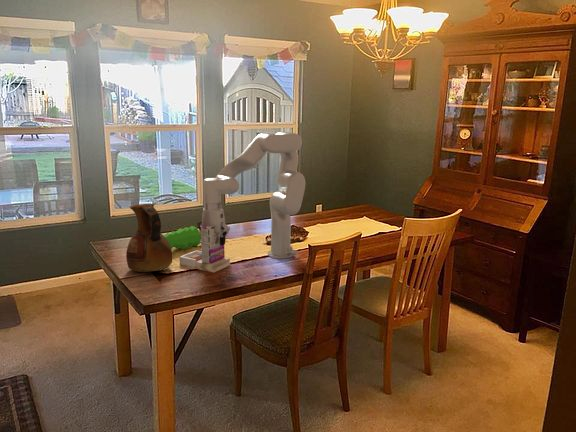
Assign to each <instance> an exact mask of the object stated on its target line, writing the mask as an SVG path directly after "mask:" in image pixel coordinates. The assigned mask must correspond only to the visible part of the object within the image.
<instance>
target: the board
mask: <svg viewBox="0 0 576 432" xmlns="http://www.w3.org/2000/svg"><path fill="white" fill-rule="evenodd" d="M229 266H231V258H229V257H225V258H223V259H220V260H218V261H216V262H214V263H211V264H208V263H203V262H202V260H199V261H197V262H196V268H195V269H196V270H201V271H205V272H208V273H209V272H210V273H216V272H219V271H221V270H223V269H224V268H227V267H229Z"/></svg>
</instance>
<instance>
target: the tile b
mask: <svg viewBox="0 0 576 432" xmlns="http://www.w3.org/2000/svg"><path fill="white" fill-rule="evenodd" d="M190 258H191V259H196V262H197V261H199V260H200V255H194V256H191V257H190Z"/></svg>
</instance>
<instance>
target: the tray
mask: <svg viewBox="0 0 576 432" xmlns="http://www.w3.org/2000/svg"><path fill="white" fill-rule="evenodd" d="M201 252H202V250H194V251H192V252H191V251H190V252H188V253H186V254H183V255H180V256H179V257H178V258H179V266H182V267H187V268H192V269H196V259H191V258H190V257H191V256H194V255H198V253H201Z"/></svg>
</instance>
